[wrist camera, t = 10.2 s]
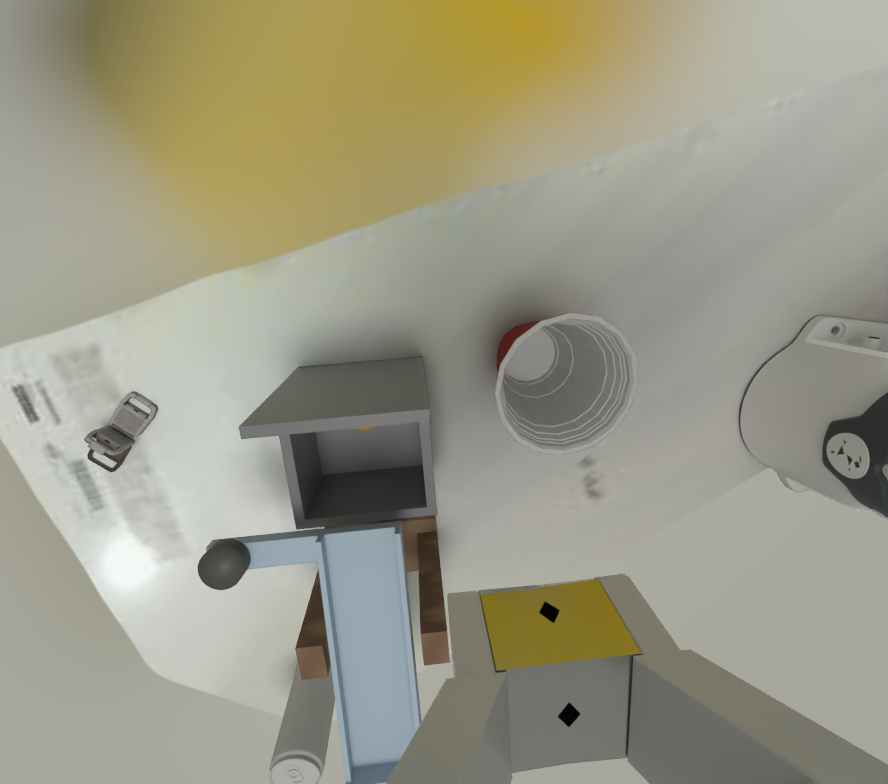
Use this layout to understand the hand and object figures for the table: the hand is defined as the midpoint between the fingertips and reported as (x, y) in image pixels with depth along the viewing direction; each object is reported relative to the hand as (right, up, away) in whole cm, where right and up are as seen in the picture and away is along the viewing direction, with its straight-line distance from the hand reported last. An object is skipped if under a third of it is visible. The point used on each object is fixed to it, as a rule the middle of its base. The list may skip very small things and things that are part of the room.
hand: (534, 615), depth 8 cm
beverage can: (-16, -27, +46) cm, 56 cm away
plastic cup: (+7, +7, +37) cm, 39 cm away
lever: (-11, -16, +31) cm, 37 cm away
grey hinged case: (-32, 0, +37) cm, 49 cm away
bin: (-9, +1, +38) cm, 39 cm away
